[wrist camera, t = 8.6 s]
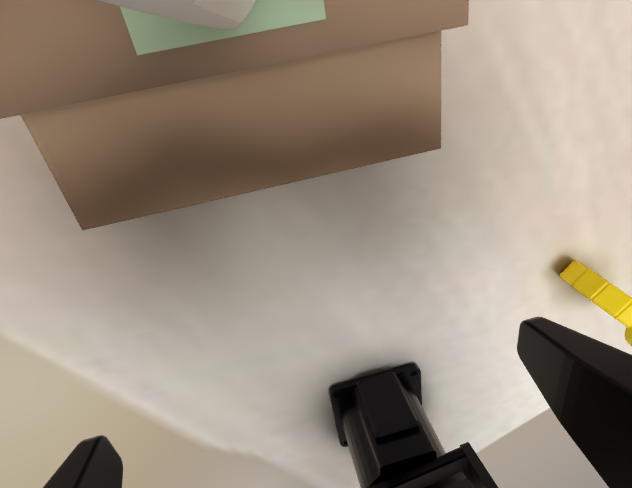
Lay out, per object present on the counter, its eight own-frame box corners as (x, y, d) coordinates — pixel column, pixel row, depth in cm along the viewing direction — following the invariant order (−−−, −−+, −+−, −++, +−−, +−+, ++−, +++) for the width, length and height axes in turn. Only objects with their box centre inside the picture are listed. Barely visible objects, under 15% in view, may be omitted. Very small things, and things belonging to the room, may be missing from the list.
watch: (536, 272, 26) (606, 329, 21) (567, 240, 26) (648, 291, 20) (587, 308, 29) (663, 367, 23) (618, 279, 28) (703, 334, 23)
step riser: (422, 137, 20) (465, 162, 16) (95, 210, 18) (64, 256, 15) (412, -295, 13) (486, -419, 9) (-126, -231, 11) (-288, -348, 8)
